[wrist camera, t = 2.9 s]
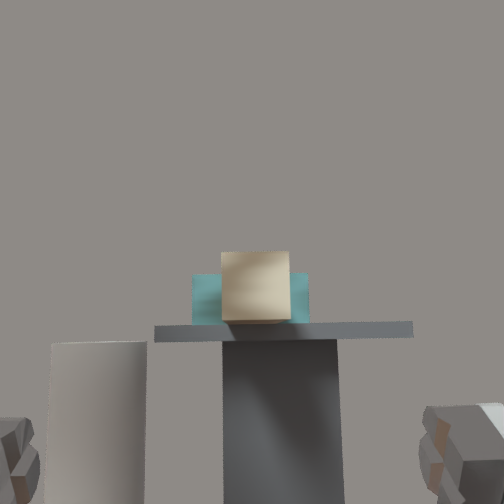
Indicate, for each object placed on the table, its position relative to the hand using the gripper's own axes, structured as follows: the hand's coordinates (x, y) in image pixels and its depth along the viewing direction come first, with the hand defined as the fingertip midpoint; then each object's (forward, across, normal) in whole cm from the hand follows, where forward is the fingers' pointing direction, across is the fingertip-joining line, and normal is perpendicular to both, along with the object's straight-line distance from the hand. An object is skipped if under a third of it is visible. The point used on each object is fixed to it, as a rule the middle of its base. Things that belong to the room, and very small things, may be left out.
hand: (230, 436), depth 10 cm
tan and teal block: (+19, -1, +8) cm, 21 cm away
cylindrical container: (+13, +11, +34) cm, 38 cm away
